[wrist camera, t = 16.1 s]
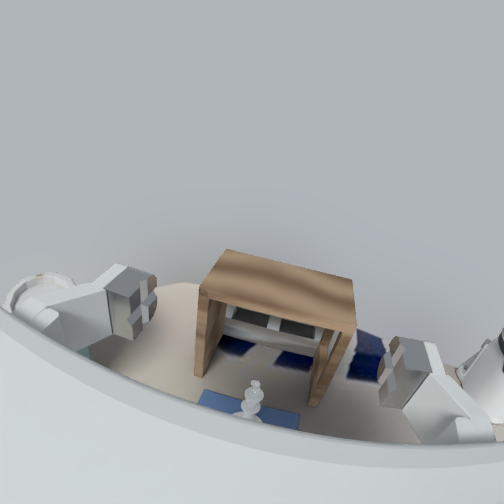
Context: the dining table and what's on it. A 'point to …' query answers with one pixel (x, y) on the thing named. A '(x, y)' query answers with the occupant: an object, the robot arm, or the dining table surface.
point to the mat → (234, 406)
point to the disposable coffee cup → (36, 287)
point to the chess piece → (251, 402)
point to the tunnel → (276, 312)
